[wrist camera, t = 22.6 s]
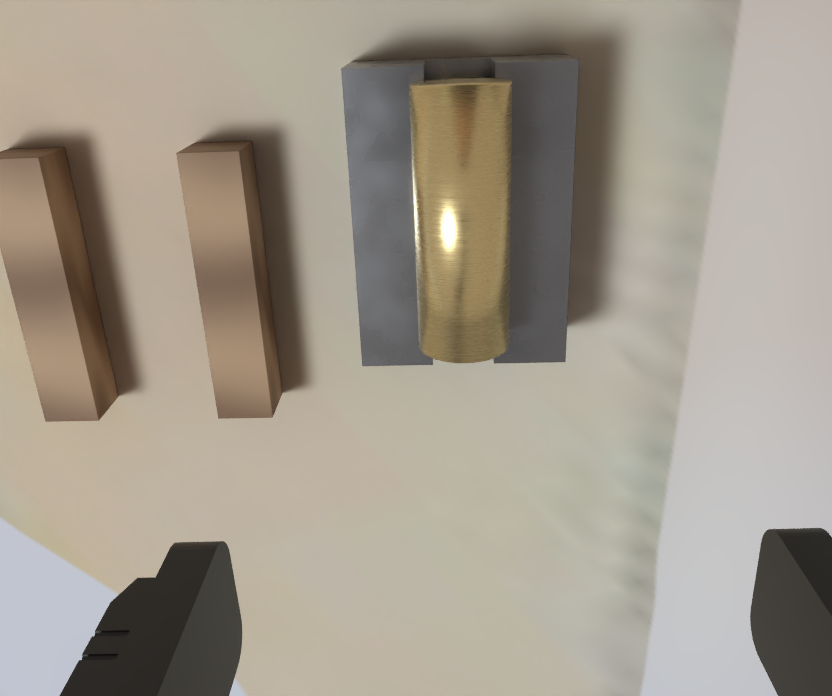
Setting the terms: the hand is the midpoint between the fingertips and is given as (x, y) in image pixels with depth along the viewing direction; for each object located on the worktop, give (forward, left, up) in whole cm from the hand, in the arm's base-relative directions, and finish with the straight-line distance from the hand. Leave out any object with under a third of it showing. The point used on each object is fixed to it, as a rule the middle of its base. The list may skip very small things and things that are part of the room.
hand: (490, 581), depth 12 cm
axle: (0, 0, -21) cm, 21 cm away
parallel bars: (-10, +10, -24) cm, 28 cm away
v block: (0, 0, -24) cm, 24 cm away
